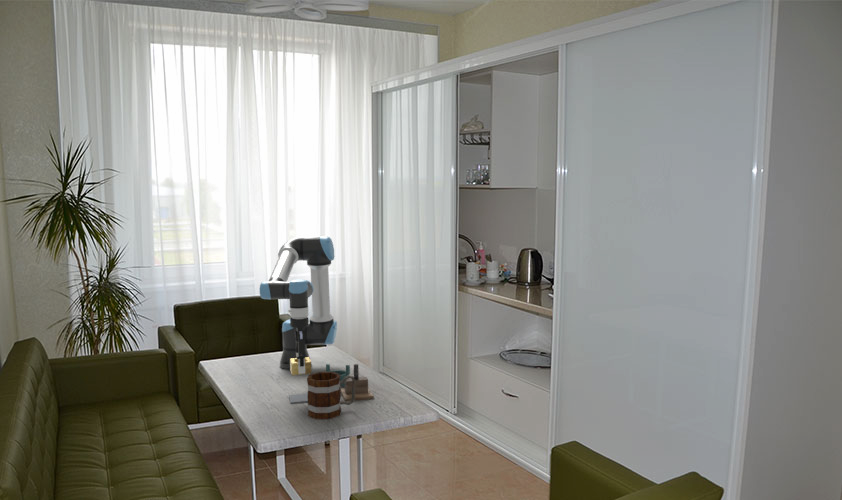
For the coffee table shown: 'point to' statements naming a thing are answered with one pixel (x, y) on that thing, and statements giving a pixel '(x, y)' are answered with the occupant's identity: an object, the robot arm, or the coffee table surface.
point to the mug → (326, 394)
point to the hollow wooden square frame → (295, 366)
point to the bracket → (340, 372)
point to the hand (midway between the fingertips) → (300, 370)
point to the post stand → (357, 387)
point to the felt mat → (298, 398)
